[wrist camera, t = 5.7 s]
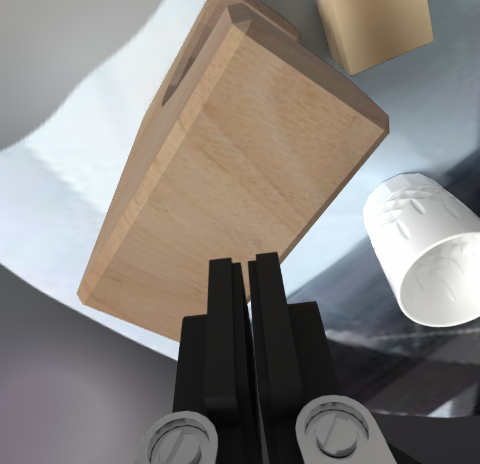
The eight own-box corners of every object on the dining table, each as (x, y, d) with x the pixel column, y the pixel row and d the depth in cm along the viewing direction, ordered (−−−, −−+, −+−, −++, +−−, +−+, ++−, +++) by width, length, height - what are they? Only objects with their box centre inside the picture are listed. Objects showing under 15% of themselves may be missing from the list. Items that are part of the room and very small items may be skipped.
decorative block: (222, -29, 28) (243, 9, 11) (294, 26, 30) (407, 131, 13) (139, 118, 32) (64, 304, 16) (206, 158, 34) (204, 361, 18)
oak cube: (386, -54, 28) (419, -54, 24) (402, 27, 30) (433, 41, 26) (310, -19, 29) (327, -12, 24) (331, 58, 31) (351, 75, 27)
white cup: (424, 253, 41) (480, 333, 32) (342, 240, 39) (379, 320, 31) (465, 174, 37) (543, 243, 28) (376, 157, 35) (429, 223, 27)
